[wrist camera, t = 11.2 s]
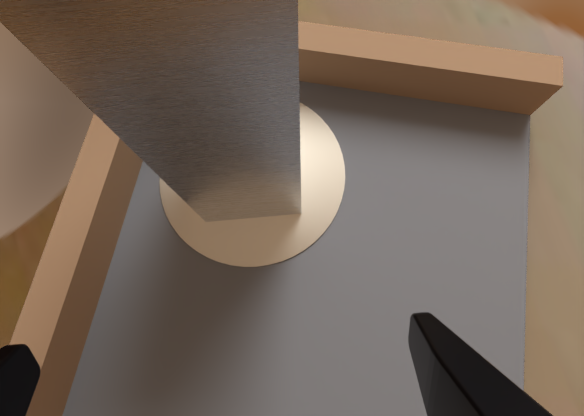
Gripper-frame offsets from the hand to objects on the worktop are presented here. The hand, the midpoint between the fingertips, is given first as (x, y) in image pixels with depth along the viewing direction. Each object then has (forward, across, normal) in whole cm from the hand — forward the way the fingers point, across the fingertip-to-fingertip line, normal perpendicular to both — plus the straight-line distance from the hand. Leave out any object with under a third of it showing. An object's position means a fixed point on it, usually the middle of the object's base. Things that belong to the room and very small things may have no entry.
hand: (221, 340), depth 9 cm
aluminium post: (+11, 0, 0) cm, 11 cm away
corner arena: (+8, -2, +3) cm, 9 cm away
